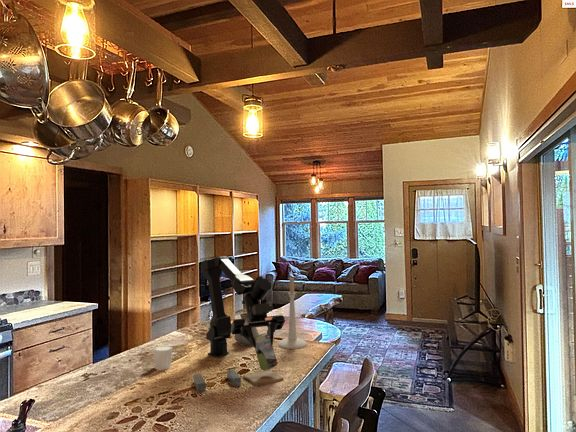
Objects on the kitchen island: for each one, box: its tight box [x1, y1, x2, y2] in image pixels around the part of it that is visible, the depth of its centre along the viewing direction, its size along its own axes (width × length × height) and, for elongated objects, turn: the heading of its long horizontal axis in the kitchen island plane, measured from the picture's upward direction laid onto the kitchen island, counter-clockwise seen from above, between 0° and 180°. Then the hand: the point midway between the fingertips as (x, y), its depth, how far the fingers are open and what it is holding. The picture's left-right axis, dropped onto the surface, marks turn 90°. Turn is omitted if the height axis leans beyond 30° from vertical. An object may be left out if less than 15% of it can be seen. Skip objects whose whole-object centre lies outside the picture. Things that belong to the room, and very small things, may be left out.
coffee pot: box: [234, 312, 260, 346], centre depth 185 cm, size 21×12×15 cm, turn 167°
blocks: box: [193, 368, 242, 393], centre depth 131 cm, size 9×14×2 cm, turn 112°
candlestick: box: [277, 277, 308, 350], centre depth 177 cm, size 13×13×30 cm
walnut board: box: [242, 370, 284, 387], centre depth 135 cm, size 10×10×1 cm
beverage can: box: [254, 332, 278, 371], centre depth 136 cm, size 6×7×12 cm
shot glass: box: [153, 345, 173, 371], centre depth 148 cm, size 7×7×7 cm
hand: (263, 346), depth 134 cm, fingers closed on beverage can, 6 cm apart
